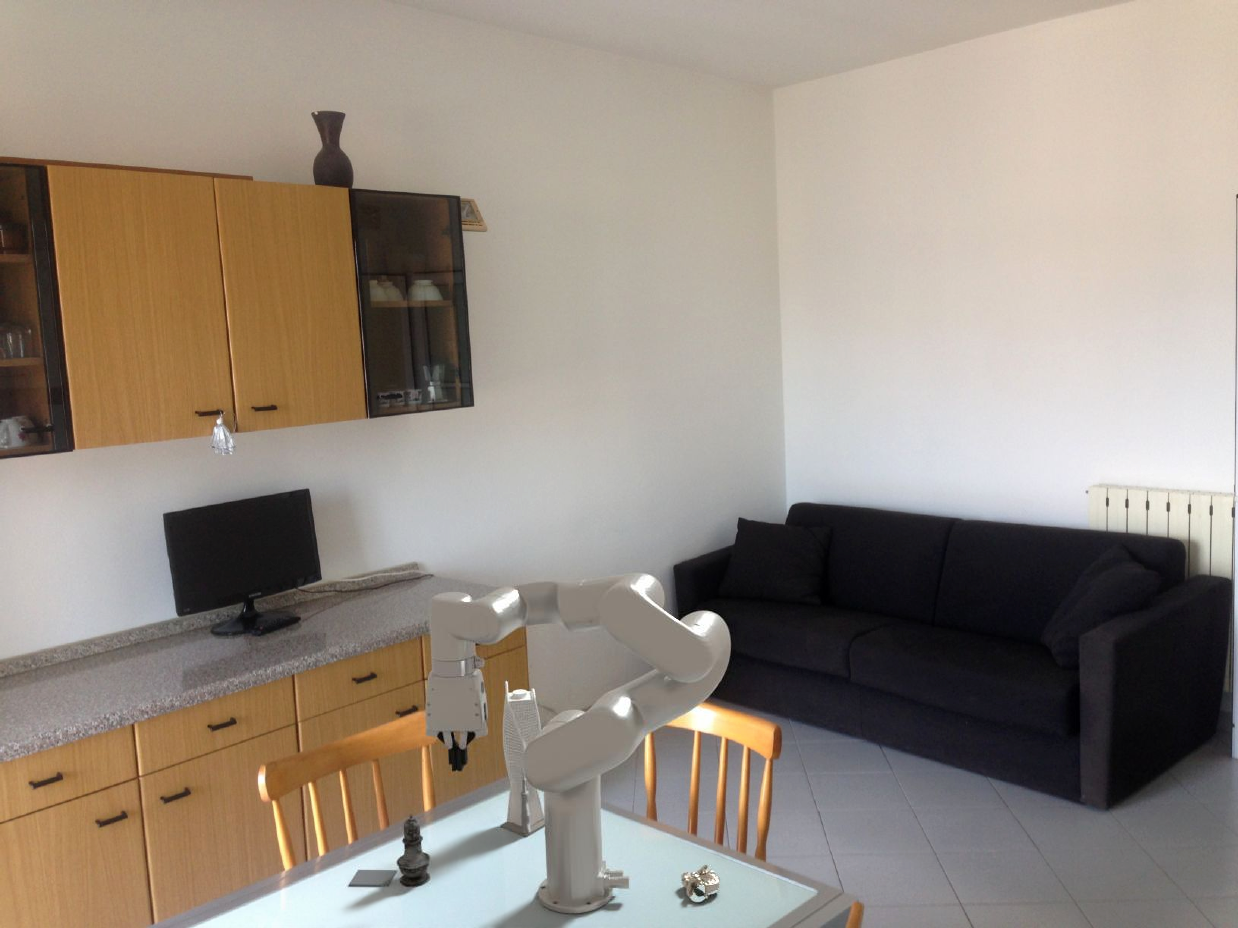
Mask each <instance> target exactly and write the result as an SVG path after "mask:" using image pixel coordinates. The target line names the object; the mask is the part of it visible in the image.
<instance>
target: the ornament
mask: <svg viewBox="0 0 1238 928" xmlns="http://www.w3.org/2000/svg"><path fill="white" fill-rule="evenodd" d="M708 868H709V866H708V864H704V865H703V866H702V867H700V868H699V869H697V871H696V872H695V871H692V872H691V873H689V872H683V873H682V874H680V875H681V876H680V878H681V879H680V880H681V884H682V885H683V888H684V889H686V895H687V897H688V896H689V897H691V896H692V895H693V893H696V891H695V889H694V888H697V887H699V885H703V886H704V887H705V894H704V893H703V895H704V897H706V896H707V895H708V893H711V892H713V891H715V890H718V888H719V889H720V884H719V883H720V882H719V880H720V881H721V879H720V877H719V875H718V874H716V873H715V870H713V869H709V870H707V869H708ZM694 891H695V892H694ZM708 896H709V895H708ZM689 897H688V898H689Z"/></svg>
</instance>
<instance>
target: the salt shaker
mask: <svg viewBox="0 0 1238 928" xmlns="http://www.w3.org/2000/svg"><path fill="white" fill-rule="evenodd" d="M408 817H409V818H408V819H406V820H405V821H404V822H403V838H402V839H401V841H402V844H403V846H404V847H403V849H404V850H403V851H404V852H403V854H402V855H400V857H398V858H397V860H396V865H397V867H398V869H399V871H400V873H401V874H402V876H401V877H400V878H399V884H400V886H401V885H402V886H403V887H406V888H417V887H419V886H424V885H425V884H427V883H428V882H429V881H430V879H431V875H430V873H428V872H427V870H428V868H429V866H430V862H431V855H430V854H428V853H426V852H424V851H423V848H422V847H423V845H422V841H423V840H424V837H423V836H422V835H421V823H420V821H419V820H418V819H417V818H416V817H415V818H414V815H413V813H412V814H409V816H408Z"/></svg>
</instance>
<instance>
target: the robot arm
mask: <svg viewBox="0 0 1238 928" xmlns="http://www.w3.org/2000/svg"><path fill="white" fill-rule="evenodd" d="M665 596H666V595H665V591H664V587H663V586H662V584H661V582H660V580H658V579H657V578H656V577H654V576H653V575H651V574H648V573H645V572H644V573H643V572H633V573H624V574H615V575H608V576H601V577H595V578H586V579H580V580H569V581H562V580H561V581H553V580H552V581H551V580H549V581H548V580H546V581H535V582H528V583H527V582H526V583H520V584H513V585H508V586H503V587H499V588H498V589H496V590H494V591H492V592H490V593H488V594H487V595H485V596H483V597H480V598H478V599H475V600H473V598H472V597H471V595H469V594H468V593H465V592H462V591H461V592H459V591H449V592H443V593H441V592H440V593H439V594H436V595H434V596H432V597H431V598H430V600H429V602H428V603H429V604H428V612H429V615H428V616H429V617H428V618H429V634H430V637H429V638H430V655H431V657H430V659H431V660H430V661H431V671H429V673H428V675H427V682H426V683H427V684H426V689H425V690H426V692H425V705H424V707H425V709H424V710H425V711H424V717H425V726H426V727H425V728H426V730H425V735H426V736H427V737H432V738H435V739H436V738H437V739H438V740H439V741H440V742H441V743H442V744H444V746H445V748H446V749H447V752H448V753H447V754H448V757H447V758H448V765H449V766H451V772H456V771H458V772H462V771H463V769H464V767H465V766H467V764H468V761H469V758H468V757H469V756H468V745H469V744H470V743H472V741H473V740H474V739H479V738H483V737H486V736H487V735H488V733H489V729H488V725H487V721H488V719H489V716H488V715H489V711H488V702H487V701H488V700H487V694H486V687H485V681H484V676H483V672H482V670H481V669H480V667H481V668H482V667H485V658H480V657H478V655H477V654H478V653H476V651H477V650H476V644H478V645H485V646H489V645H494V644H496V643H498V642H500V641H501V640H502V639H504V638H505V637H507V636H508V635H509V634H511V633H512V632H514V631H516V630H517V629H518V628H523V627H527V626H537V625H538V626H539V625H548V624H551V625H552V624H553V625H554V624H555V625H561V626H562V628H564V629H565V631H567V632H568V633H570V634H583V633H590V632H591V633H592V632H597V631H605V632H606V633H607V634H608V635H609V636H611V638H612V639H614V640H615V641H616V642H618V643H619V645H621V646H623V647H624V648H626V649H627V650H628V651H630V652H631V653H632V654H634V655H635V656H637V657H638V658H639V659H641V660H643V661H644V662H645V663H647V664H648V665H650V666H651V667H652V668H654V669H652V670H650V671H649V672H647V673H646V674H644V675H641V676H640V677H637V678H636V679H634V680H631V681H629V682H628V683H625V684H624V685H621V686H619V687H617V688H614V689H612V690H609V691H607V692H606V693H604V694H603V695H602V696H601V697H599V698H598V699H597V700H596V701H595V702H594V703H593V704H592V706H591V707H590V708H589V709H588V710H587V711H584V710H581V709H567V710H564V711H562V712H560V713H557V714H556V715H555V716H554V717H552V718H551V719H550V720H549V721H548V722H547V723H546V724H545V725H544V726H543V727H541V731H540V732H539V733H538V734H537V735H536V736H535V737H534V738H533V739H532V740H531V741H530V742H529V744H528V745H527V747H526V749H525V751H524V754H523V758H522V769H523V773H524V776H525V778H526V779H527V781H528V782H529V783H530V784H531V785H532V786H533V787H534V788H536V789H538V791H540V792H542V793H543V813H544V820H545V827H544V838H545V839H544V840H545V842H544V843H545V868H546V878H545V879H543V880H542V882H541V883H540V884H539V886H538V890H537V893H538V896H537V897H538V899H539V901H540V903H541V904H542V905H543V906H544V907H546V908H547V909H549V910H550V911H554V912H556V913H562V914H581V913H583V914H584V913H588V912H591V911H594V910H597V909H599V908H601V907H603V906H604V905H606V904H607V903H608V902H609V901H610V900H611V898H612V896H613V891H614V889H619V890H620V889H621V890H622V889H625V890H626V889H627V890H628V889H630V875H629V876H625V875H624V870H610V868H607V861H606V860H603V843H602V842H603V841H602V840H603V837H602V834H603V833H602V814H601V813H602V810H601V809H602V808H601V806H602V799H601V794H602V793H601V775H603V774H605V773H607V772H609V771H610V770H612V769H614V768H616V767H618V766H619V765H621V764H623V763H624V762H626V761H627V759H628V758H629V757H631V755H633V753H634V752H635V751H636V749H637V748H638V747H639V745H640V744H641V742H642V741H643V740H644V739H645V738H646V737H647V736H648V735H649V734H651V733H653V732H654V731H656V730H658V729H661V728H662V727H664V726H665V725H668V724H669V723H671V722H674V721H675V720H677V719H678V718H680V717H682V716H684V715H686V714H687V713H690V712H692V711H693V710H694V709H696V708H697V707H698V706H700V705H701V704H702V703H704V702H705V700H706V699H708V698H709V697H710V695H711V694H712V693H713V692H714V691H715V689H716V688H717V687H718V686H719V683H720V682H721V681H722V679H723V677H724V675H725V674H726V671H727V668H728V665H729V662H730V656H731V649H732V648H731V647H732V643H731V642H732V641H731V634H730V629H729V627H728V625H727V623H726V622H725V620H724V618H722V617H721V616H720V615H719V614H718V613H715V612H713V611H709V610H697V611H694V612H691V613H689V614H687V615H685V616H683V617H682V618H681V619H680V620H678V619H677V618H675V616H673V615H672V614H669V613H668V612H667V611H665V610H664V606H665V599H666V597H665ZM478 668H479V669H478ZM455 733H459V741H457V739H456V737H457V736H456V734H455Z"/></svg>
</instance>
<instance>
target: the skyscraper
mask: <svg viewBox="0 0 1238 928" xmlns="http://www.w3.org/2000/svg"><path fill="white" fill-rule="evenodd" d="M504 688H505V695H504V705H503V716H502V746H503V747H502V748H503V755H504V762H505V767H506V770H507V775H508V780H509V783H510V786H509V794H508V795H509V797H508V803H507V804H508V805H507V815H506V821H505V822H503V823H501V824H500V825H499V828H501V829H504V830H507V831H510V832H512V833H514V834H518V835H521V836H522V837H526V838H528V837H529V836H532V834H534V833H536V832H538V831H540V830H542V829H543V828H545V820H544V807H543V804H542V801H541V797H540V792H539V790H538V789H536V788H534V787H533V786H532V785H531V784H530V783H529V782H528V781H527V779H526V778H525V776H524V773H523V769H522V758H523V754H524V751H525V749H526V747H527V745H528V744H529V742H530V741H531V740H532V739H533V738H534V737H535V736H536V735H537V734H538V733H539V732H540V731H541V729H542V725H541V718H540V712H539V709H538V703H537V700H536V699H537V698H536V691H535V688H534V687H533V688H531V691H530V690H529V691H528V690H526V689H515V690H513V691H512V692H509V683H508V681H507V680H505V681H504Z"/></svg>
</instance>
